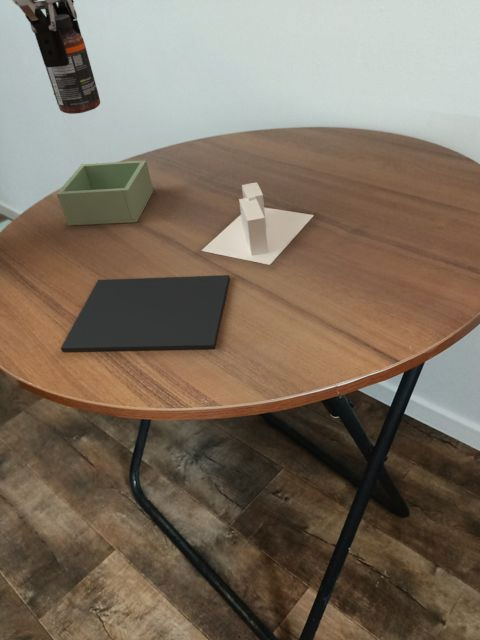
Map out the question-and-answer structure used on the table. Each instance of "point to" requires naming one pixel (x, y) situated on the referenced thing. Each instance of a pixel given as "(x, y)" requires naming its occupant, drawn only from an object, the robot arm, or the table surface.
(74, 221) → the bin
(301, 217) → the napkin holder
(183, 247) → the table surface
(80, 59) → the supplement bottle
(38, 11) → the robot arm
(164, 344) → the mat
